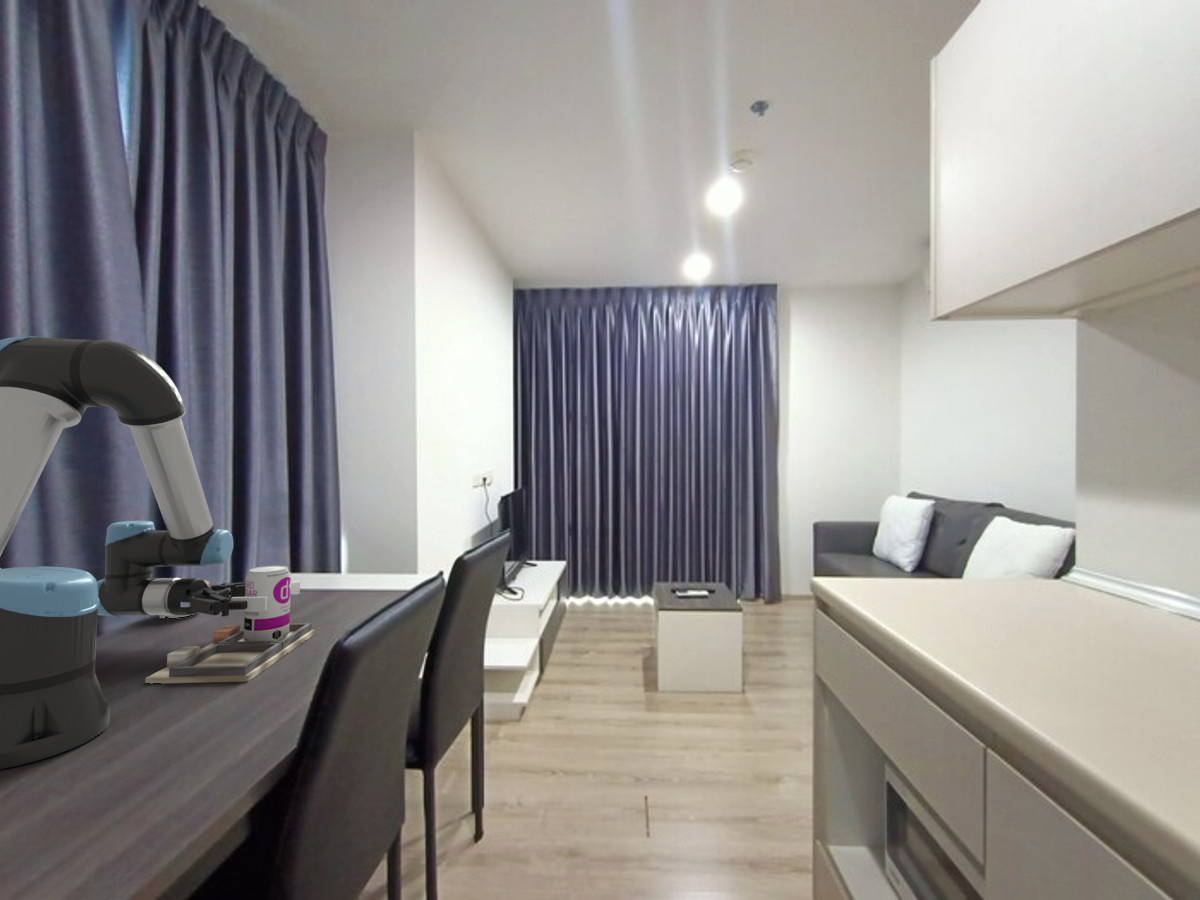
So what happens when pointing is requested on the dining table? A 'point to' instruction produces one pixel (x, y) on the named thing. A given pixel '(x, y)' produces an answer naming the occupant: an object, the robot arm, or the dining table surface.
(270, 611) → the supplement can
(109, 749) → the dining table surface
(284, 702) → the dining table surface
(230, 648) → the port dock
